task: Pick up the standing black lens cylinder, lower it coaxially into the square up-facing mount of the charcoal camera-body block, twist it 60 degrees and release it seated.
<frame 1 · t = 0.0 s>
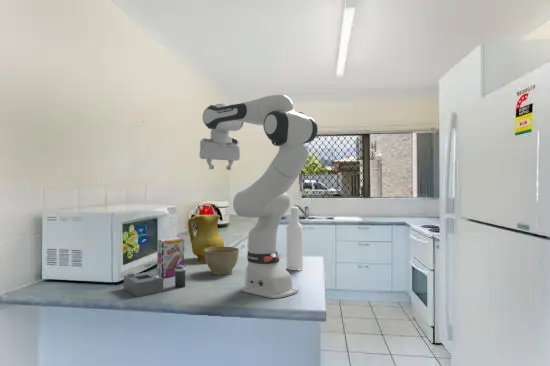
hand: (220, 169, 165), 48 cm above the worktop, fingers open, 8 cm apart
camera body: (143, 289, 139), on the worktop
pitcher: (207, 259, 195), on the worktop
bottle: (294, 269, 172), on the worktop
planter bowl: (221, 273, 166), on the worktop
candy bar box: (170, 275, 161), on the worktop
lens: (180, 286, 143), on the worktop
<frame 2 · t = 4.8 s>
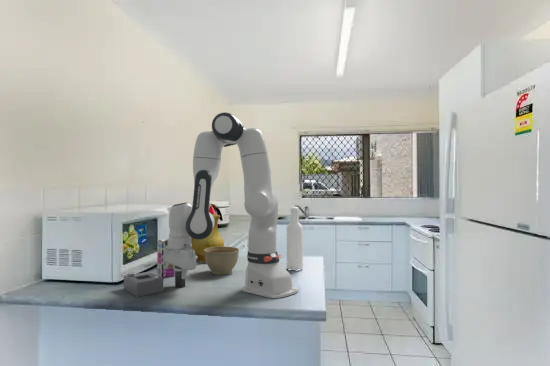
hand: (180, 277, 143), 4 cm above the worktop, fingers closed on lens, 4 cm apart
lens: (180, 286, 143), on the worktop, touching gripper
everything else where it was.
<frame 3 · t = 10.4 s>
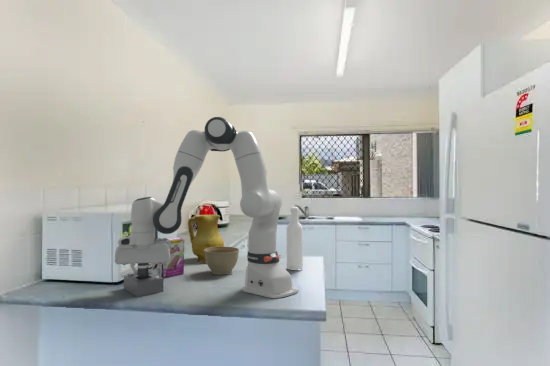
hand: (143, 274, 138), 6 cm above the worktop, fingers closed on lens, 4 cm apart
lens: (143, 283, 138), point 2 cm above the worktop, touching gripper
everything else where it was.
when the fingers open (6 cm above the worktop, at t = 11.2 s): lens stays where it is, resting on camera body.
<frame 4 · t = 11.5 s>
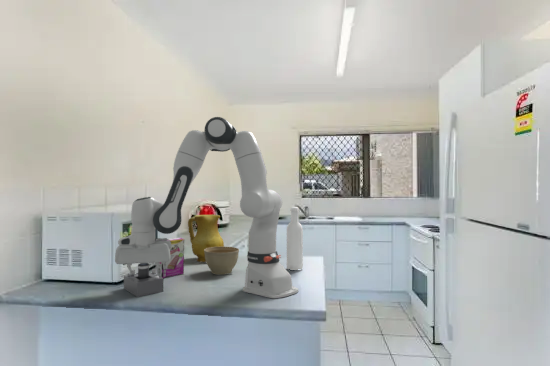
hand: (143, 274, 139), 6 cm above the worktop, fingers open, 7 cm apart
lens: (143, 284, 139), point 2 cm above the worktop, touching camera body
everything else where it was.
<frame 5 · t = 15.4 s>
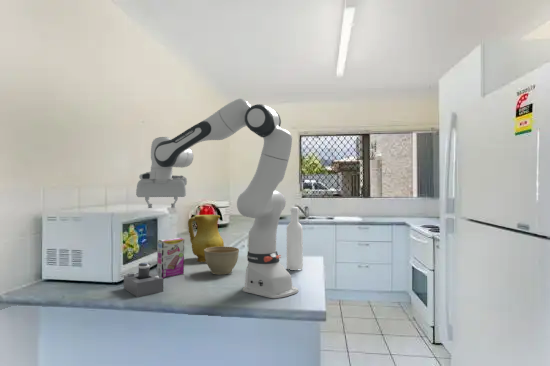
hand: (161, 207, 152), 31 cm above the worktop, fingers open, 8 cm apart
nothing on the worktop moved.
at the end: lens 0.2 cm off-centre on the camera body, point 2.1 cm above the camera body's base; lens tilted 2°; the gripper is holding nothing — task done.
